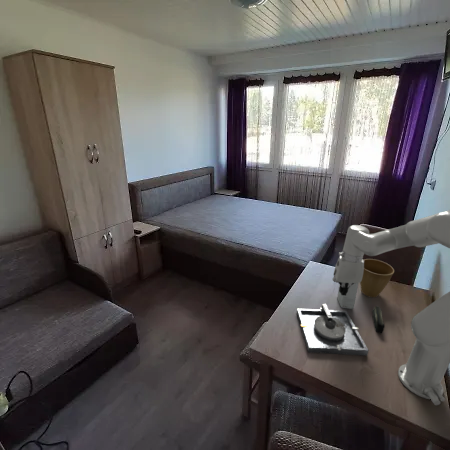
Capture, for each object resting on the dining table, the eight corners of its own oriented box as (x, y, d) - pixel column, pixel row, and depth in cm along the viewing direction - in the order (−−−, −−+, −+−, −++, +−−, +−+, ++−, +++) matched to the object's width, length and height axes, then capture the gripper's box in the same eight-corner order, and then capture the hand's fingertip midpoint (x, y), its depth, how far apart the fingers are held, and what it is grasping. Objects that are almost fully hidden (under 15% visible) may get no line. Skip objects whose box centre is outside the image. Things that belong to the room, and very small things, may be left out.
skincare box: (353, 309, 124) (360, 282, 118) (340, 307, 125) (346, 281, 119) (348, 298, 132) (354, 272, 126) (336, 297, 133) (341, 271, 127)
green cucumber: (386, 326, 108) (379, 303, 121) (378, 324, 109) (372, 301, 122) (383, 335, 110) (377, 311, 123) (375, 333, 111) (370, 310, 124)
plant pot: (349, 284, 143) (355, 258, 137) (376, 285, 143) (384, 259, 137) (361, 301, 129) (368, 273, 123) (392, 303, 129) (400, 275, 123)
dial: (349, 341, 104) (352, 330, 102) (318, 339, 104) (320, 328, 102) (335, 314, 118) (338, 304, 116) (308, 313, 119) (310, 303, 117)
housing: (369, 357, 99) (371, 351, 98) (306, 353, 100) (307, 347, 99) (346, 314, 121) (347, 309, 120) (294, 311, 121) (295, 306, 120)
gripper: (336, 259, 102) (327, 298, 109) (375, 261, 101) (364, 300, 109) (330, 250, 109) (322, 287, 116) (367, 252, 108) (356, 289, 115)
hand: (342, 293), depth 112 cm, fingers closed
